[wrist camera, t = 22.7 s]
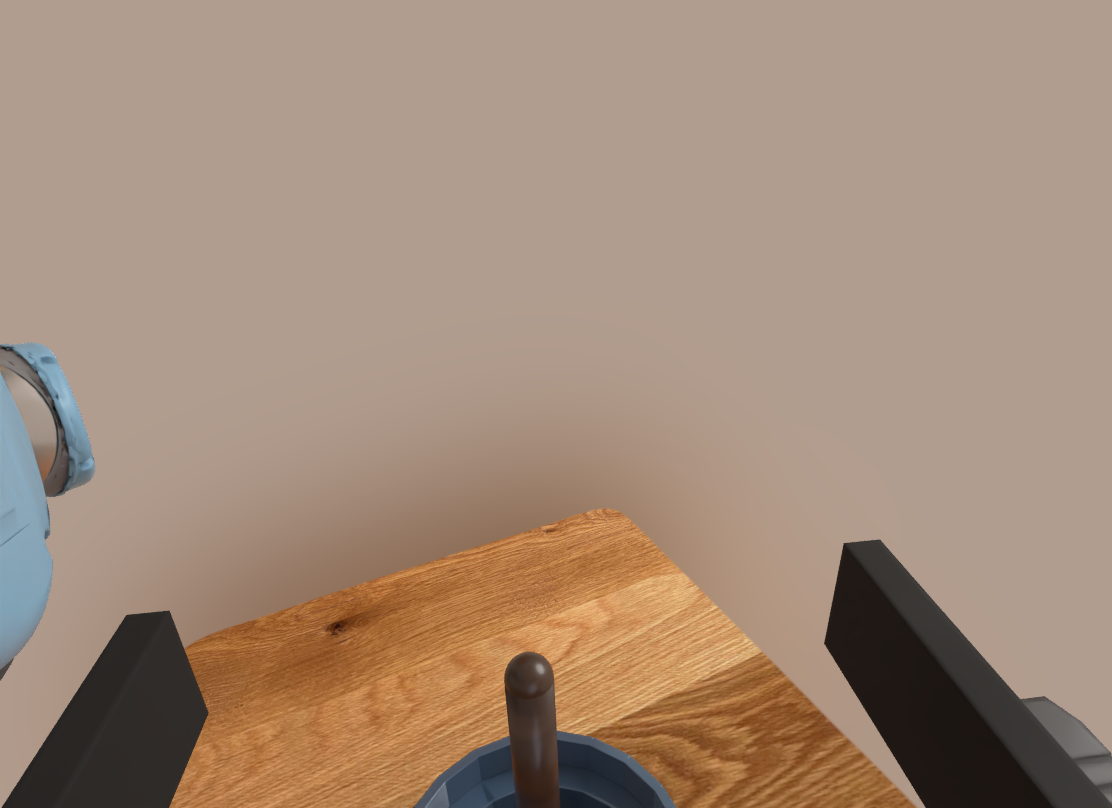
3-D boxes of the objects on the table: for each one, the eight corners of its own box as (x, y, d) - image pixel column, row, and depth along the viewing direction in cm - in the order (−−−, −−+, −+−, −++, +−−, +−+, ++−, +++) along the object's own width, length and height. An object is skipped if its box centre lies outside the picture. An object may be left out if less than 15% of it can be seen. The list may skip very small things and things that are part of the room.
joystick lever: (472, 972, 33) (427, 711, 24) (507, 847, 38) (480, 597, 30) (593, 1004, 31) (588, 739, 23) (612, 870, 37) (613, 616, 28)
